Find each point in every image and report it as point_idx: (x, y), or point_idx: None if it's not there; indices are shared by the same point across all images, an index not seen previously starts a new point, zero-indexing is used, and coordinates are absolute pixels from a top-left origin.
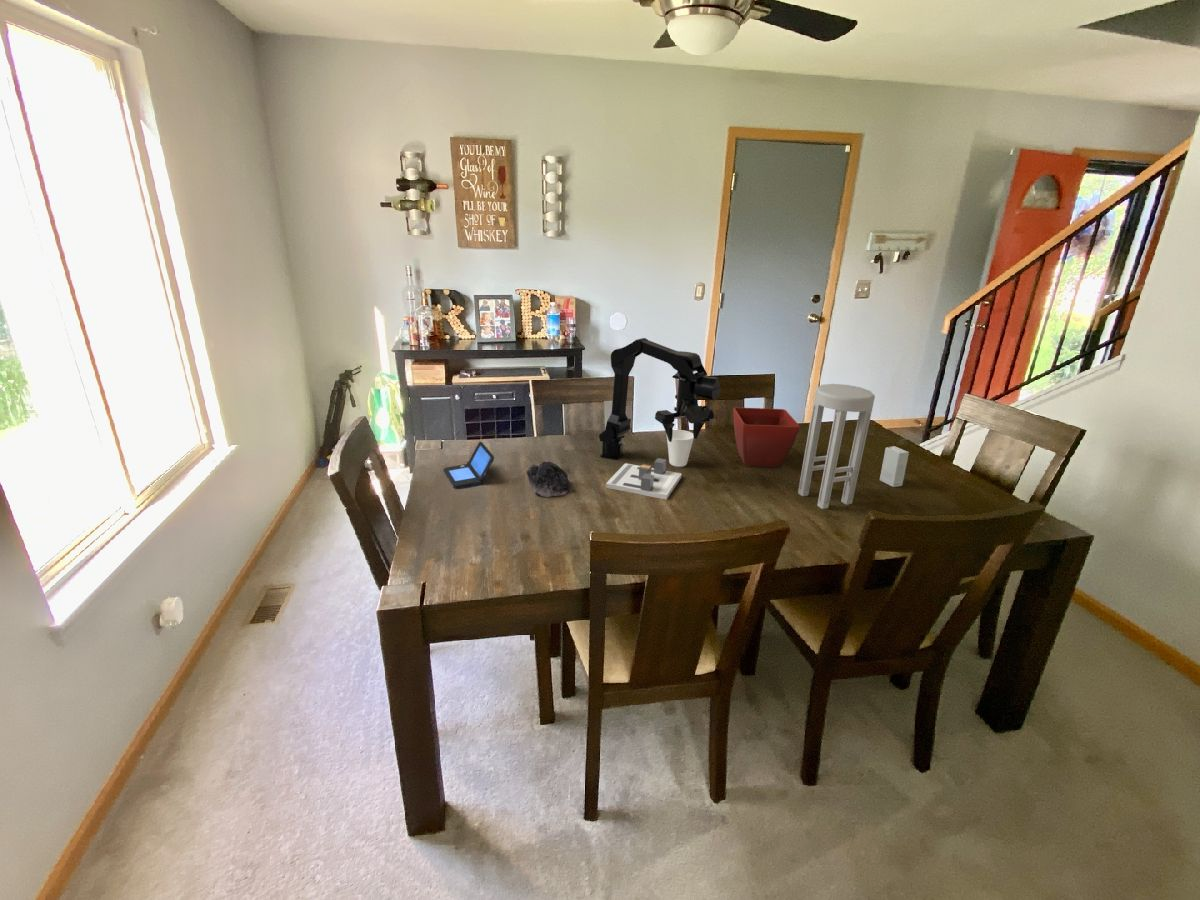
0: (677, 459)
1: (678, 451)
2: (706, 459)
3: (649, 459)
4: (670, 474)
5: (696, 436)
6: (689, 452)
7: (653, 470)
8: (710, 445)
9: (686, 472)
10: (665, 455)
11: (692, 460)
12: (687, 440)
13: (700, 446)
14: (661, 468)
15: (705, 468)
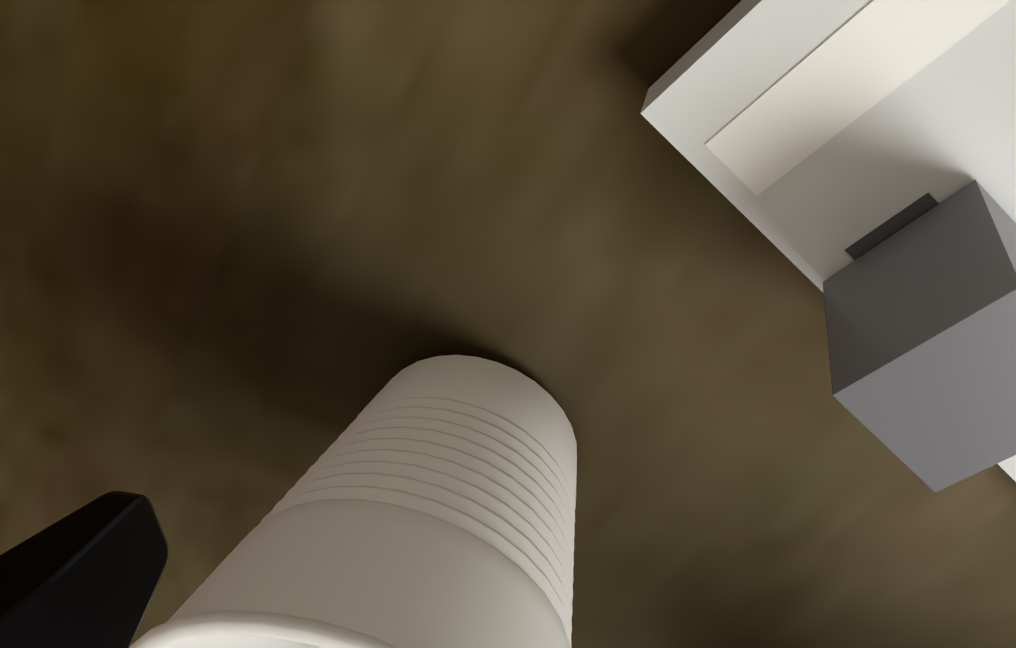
0: (516, 433)
1: (489, 513)
2: (140, 394)
3: (726, 614)
4: (838, 140)
5: (69, 534)
6: (317, 465)
7: None
8: None
9: (491, 207)
10: None
11: (290, 430)
12: (295, 616)
13: None
14: (1013, 248)
15: (214, 218)
